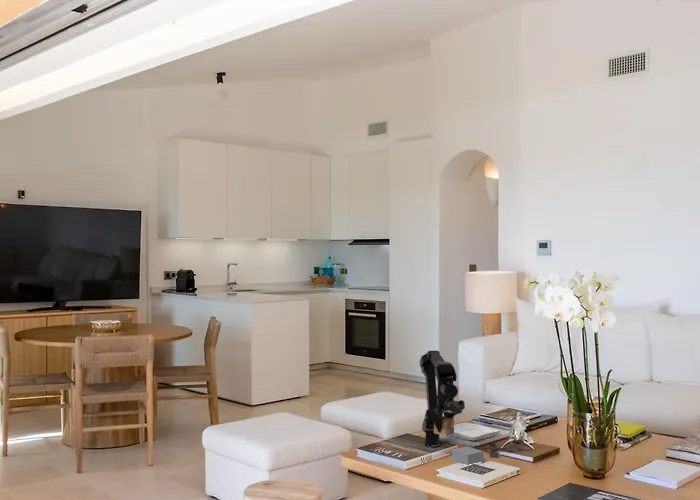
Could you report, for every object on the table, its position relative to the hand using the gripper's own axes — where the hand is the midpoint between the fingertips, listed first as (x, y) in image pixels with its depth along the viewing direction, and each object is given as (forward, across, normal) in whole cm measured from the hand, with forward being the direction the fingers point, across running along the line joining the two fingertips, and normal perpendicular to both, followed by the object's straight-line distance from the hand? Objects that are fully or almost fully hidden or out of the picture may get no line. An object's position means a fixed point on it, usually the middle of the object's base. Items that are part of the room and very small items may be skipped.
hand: (443, 430), depth 297 cm
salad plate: (+12, +38, +11) cm, 41 cm away
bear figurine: (+12, +20, -12) cm, 26 cm away
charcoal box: (+11, +1, -11) cm, 16 cm away
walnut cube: (+1, 0, 0) cm, 1 cm away
